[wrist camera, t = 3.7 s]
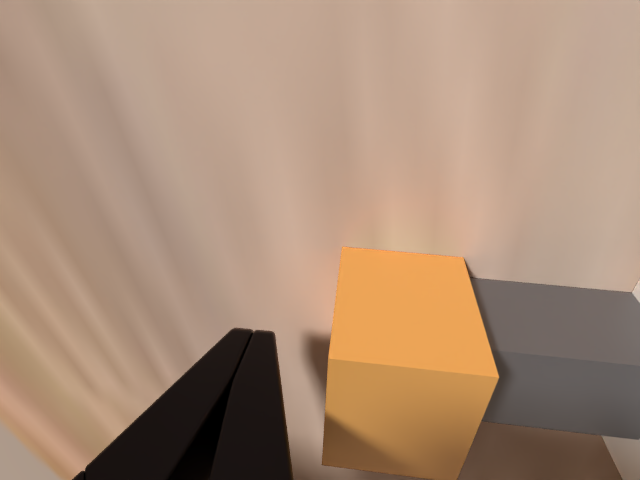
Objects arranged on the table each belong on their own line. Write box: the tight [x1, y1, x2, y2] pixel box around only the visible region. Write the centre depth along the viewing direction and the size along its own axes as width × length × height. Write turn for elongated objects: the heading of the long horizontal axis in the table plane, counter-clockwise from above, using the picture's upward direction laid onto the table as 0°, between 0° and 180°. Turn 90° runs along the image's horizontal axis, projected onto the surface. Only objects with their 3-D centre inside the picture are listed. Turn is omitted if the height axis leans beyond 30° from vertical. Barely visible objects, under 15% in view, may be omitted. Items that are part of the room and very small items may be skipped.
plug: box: [322, 247, 640, 480], centre depth 8 cm, size 10×4×4 cm, turn 88°
